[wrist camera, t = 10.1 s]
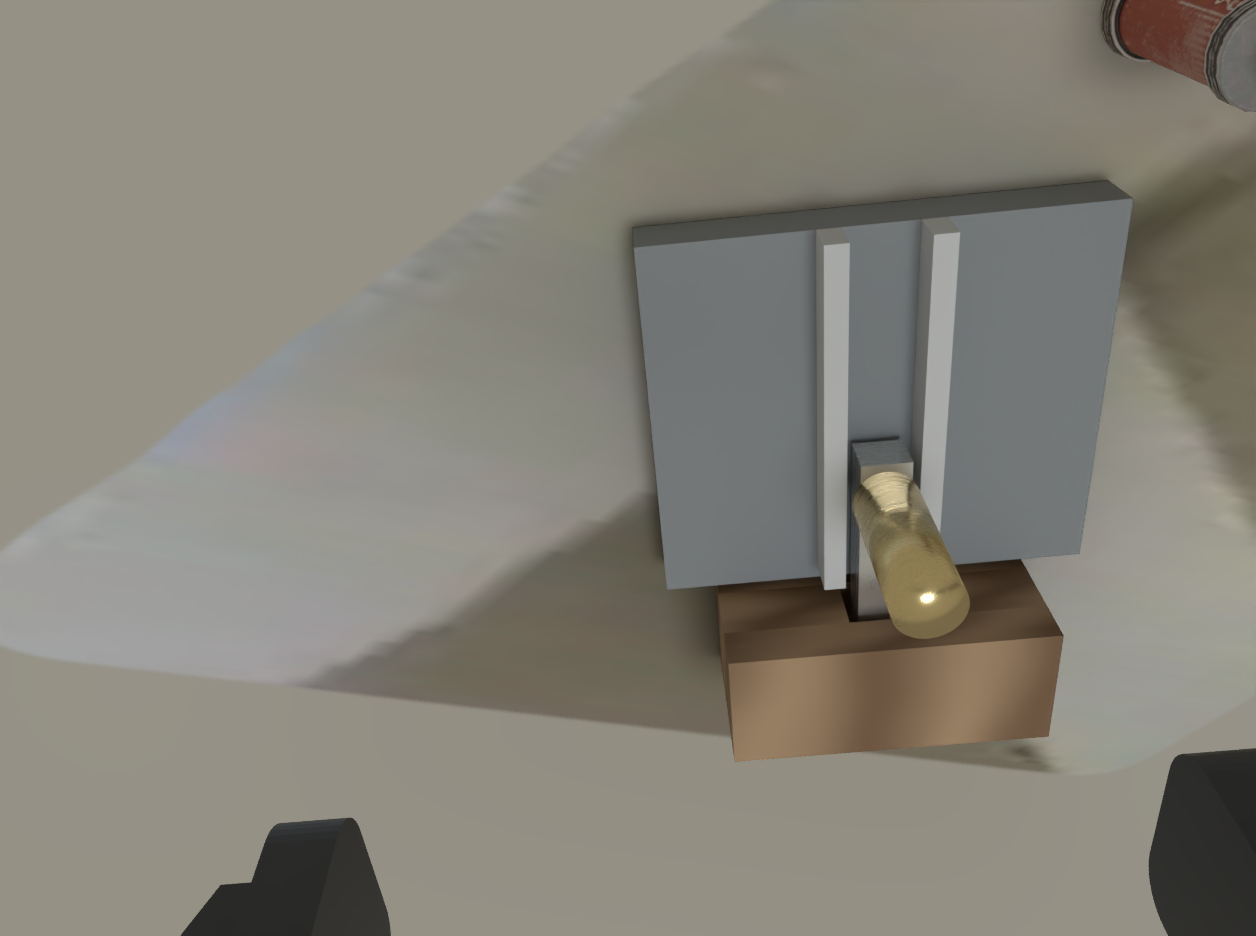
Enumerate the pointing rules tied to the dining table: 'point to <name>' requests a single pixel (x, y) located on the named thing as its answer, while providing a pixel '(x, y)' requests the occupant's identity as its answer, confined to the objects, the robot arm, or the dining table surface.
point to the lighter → (1190, 41)
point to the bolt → (899, 548)
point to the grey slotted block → (878, 373)
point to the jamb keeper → (884, 668)
